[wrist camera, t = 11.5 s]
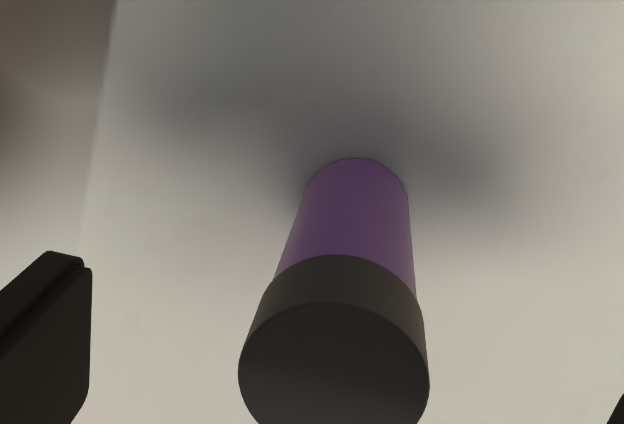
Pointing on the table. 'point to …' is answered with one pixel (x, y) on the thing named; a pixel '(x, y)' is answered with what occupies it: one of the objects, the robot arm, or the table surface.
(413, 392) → the glue stick
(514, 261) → the table surface
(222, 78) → the table surface
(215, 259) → the table surface
